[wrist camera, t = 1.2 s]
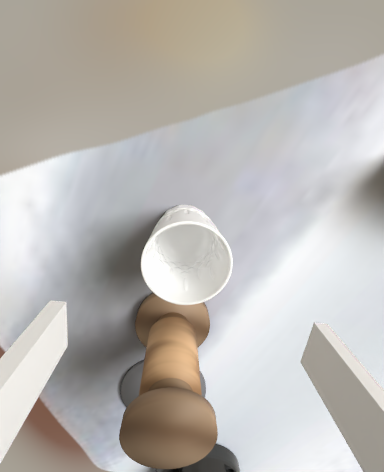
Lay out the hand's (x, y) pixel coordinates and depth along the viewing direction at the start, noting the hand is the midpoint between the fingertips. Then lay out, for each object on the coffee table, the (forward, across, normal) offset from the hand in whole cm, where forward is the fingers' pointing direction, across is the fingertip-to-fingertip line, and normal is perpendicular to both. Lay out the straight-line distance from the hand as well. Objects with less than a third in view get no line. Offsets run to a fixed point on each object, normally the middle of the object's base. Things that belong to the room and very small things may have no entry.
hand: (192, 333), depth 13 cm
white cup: (+19, 0, 0) cm, 19 cm away
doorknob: (+18, 0, +13) cm, 23 cm away
